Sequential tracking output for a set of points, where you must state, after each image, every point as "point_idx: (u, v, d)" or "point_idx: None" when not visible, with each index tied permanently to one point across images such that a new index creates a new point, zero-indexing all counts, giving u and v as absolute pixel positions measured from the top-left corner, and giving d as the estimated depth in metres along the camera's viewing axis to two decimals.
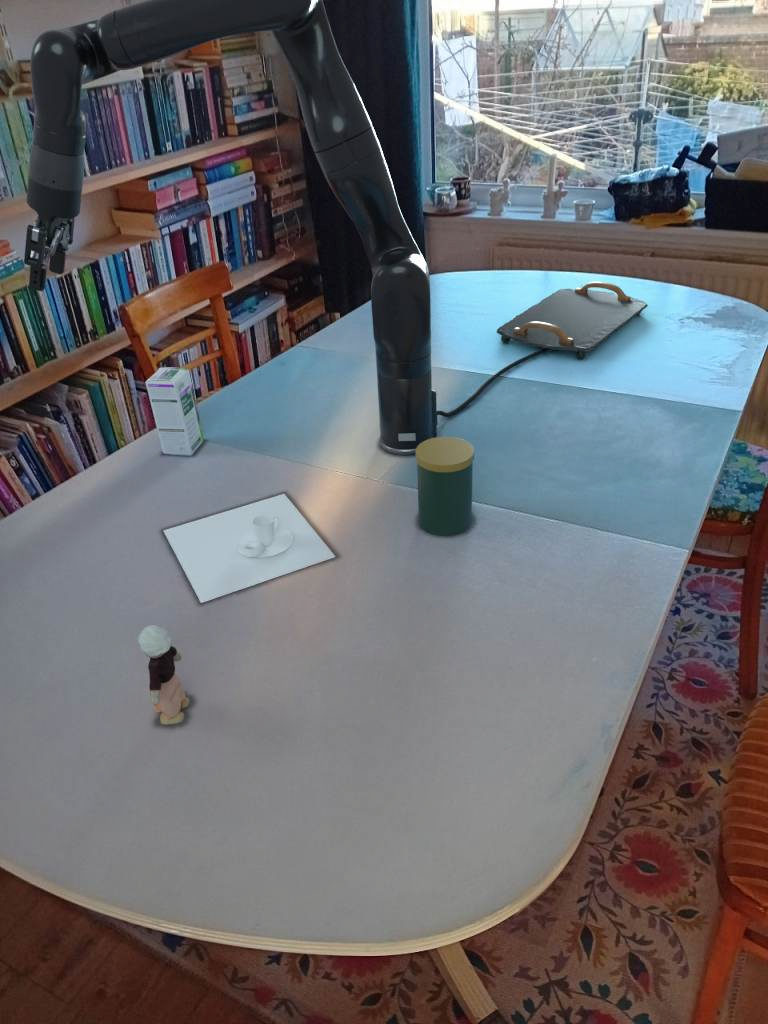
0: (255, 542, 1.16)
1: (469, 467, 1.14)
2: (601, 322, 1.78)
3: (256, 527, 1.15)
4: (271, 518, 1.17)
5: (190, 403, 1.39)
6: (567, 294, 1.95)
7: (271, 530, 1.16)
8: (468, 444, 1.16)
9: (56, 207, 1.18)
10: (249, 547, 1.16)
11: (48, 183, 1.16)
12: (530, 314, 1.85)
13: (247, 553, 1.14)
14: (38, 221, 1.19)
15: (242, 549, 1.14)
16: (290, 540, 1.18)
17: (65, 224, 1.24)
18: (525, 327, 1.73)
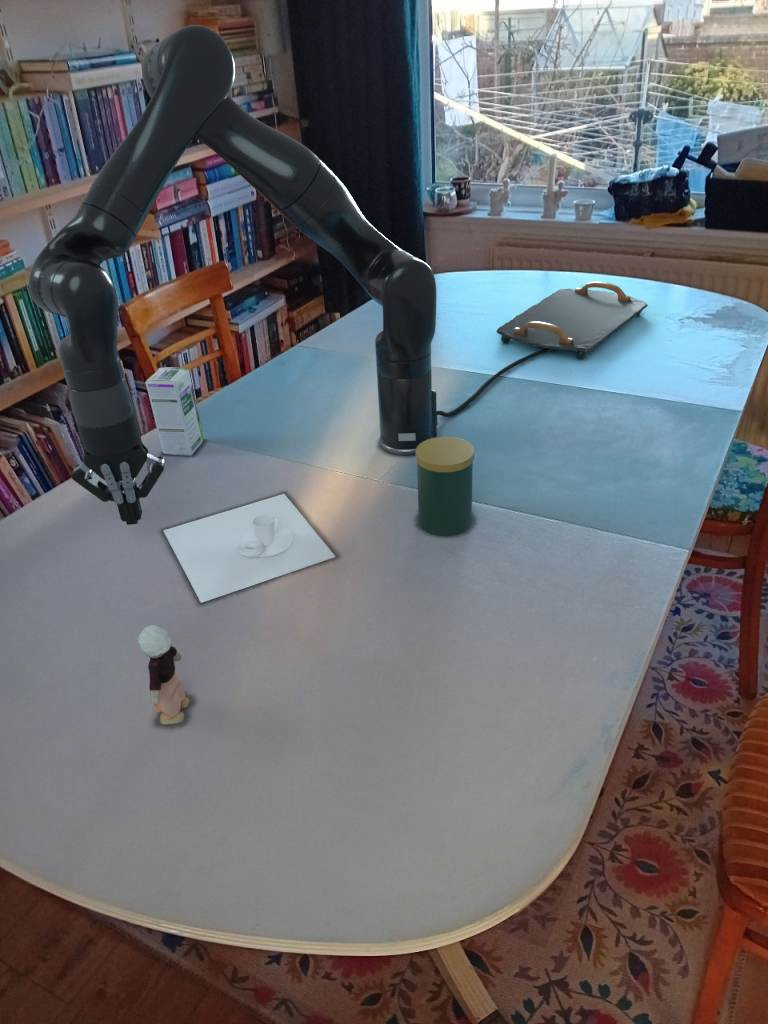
0: (255, 542, 1.16)
1: (469, 467, 1.14)
2: (601, 321, 1.78)
3: (256, 527, 1.15)
4: (271, 518, 1.17)
5: (189, 403, 1.39)
6: (567, 294, 1.95)
7: (271, 530, 1.16)
8: (468, 444, 1.16)
9: None
10: (249, 547, 1.16)
11: (133, 407, 1.05)
12: (530, 314, 1.85)
13: (247, 553, 1.14)
14: (142, 450, 1.07)
15: (242, 549, 1.14)
16: (290, 540, 1.18)
17: None
18: (525, 327, 1.73)
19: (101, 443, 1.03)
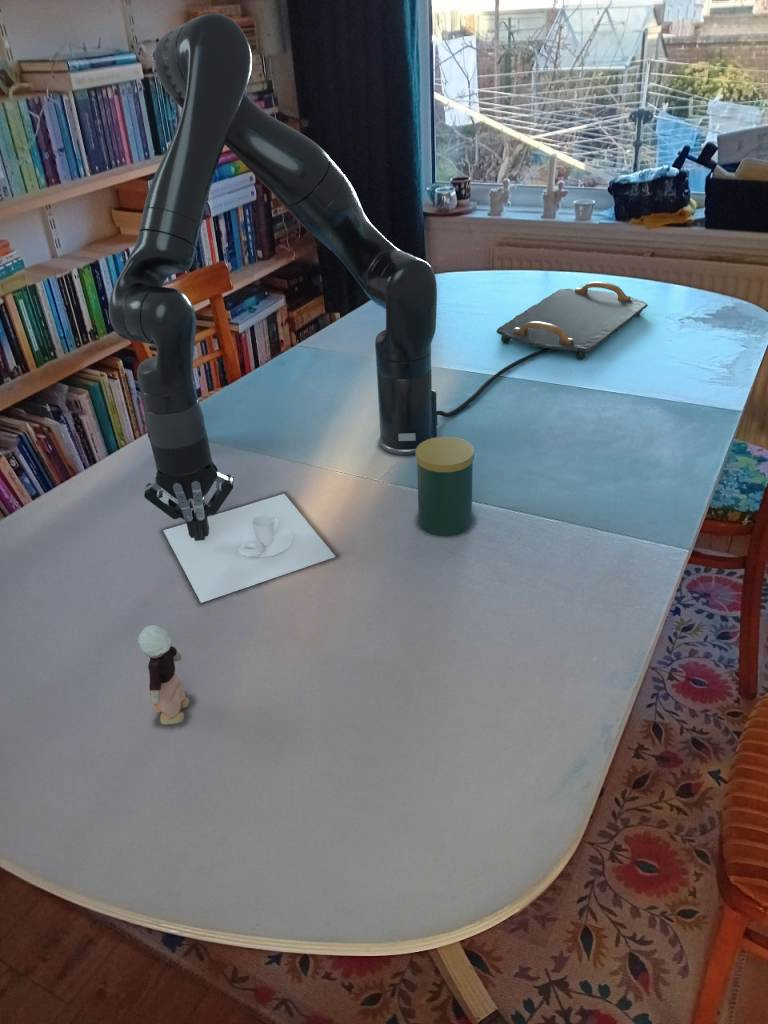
0: (255, 542, 1.16)
1: (469, 467, 1.14)
2: (601, 321, 1.78)
3: (256, 527, 1.15)
4: (271, 518, 1.17)
5: None
6: (567, 294, 1.95)
7: (271, 530, 1.16)
8: (468, 444, 1.16)
9: None
10: (249, 547, 1.16)
11: (205, 428, 1.08)
12: (530, 314, 1.85)
13: (247, 553, 1.14)
14: (213, 469, 1.10)
15: (242, 549, 1.14)
16: (290, 540, 1.18)
17: None
18: (525, 327, 1.73)
19: (176, 463, 1.06)
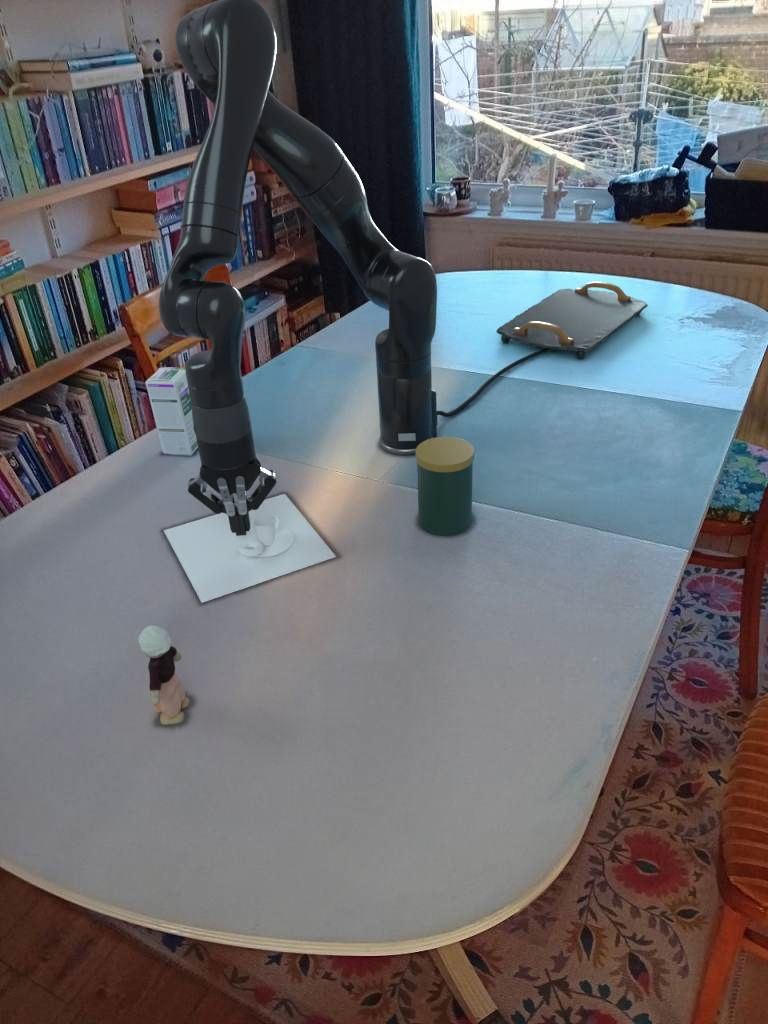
0: (256, 542, 1.16)
1: (469, 467, 1.14)
2: (601, 321, 1.78)
3: (257, 527, 1.15)
4: (272, 518, 1.17)
5: (189, 403, 1.39)
6: (567, 294, 1.95)
7: (272, 530, 1.16)
8: (468, 444, 1.16)
9: None
10: (250, 547, 1.16)
11: None
12: (530, 314, 1.85)
13: (248, 553, 1.14)
14: (257, 464, 1.11)
15: (243, 549, 1.14)
16: (291, 540, 1.18)
17: None
18: (525, 327, 1.73)
19: (222, 458, 1.06)
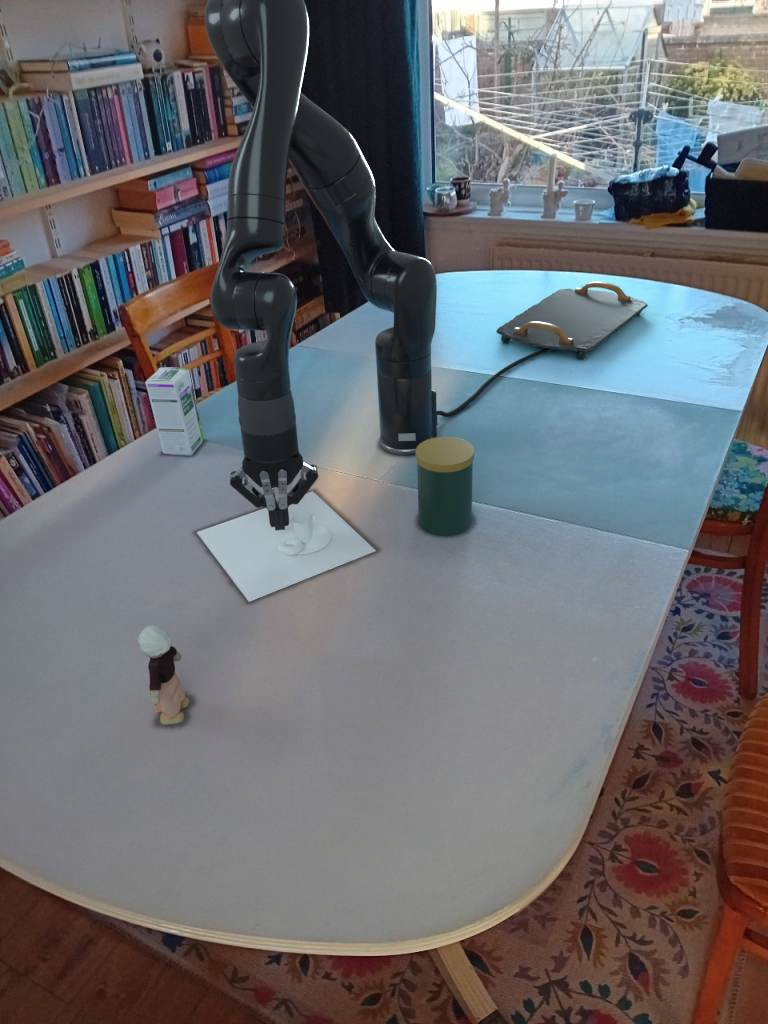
0: (294, 539, 1.16)
1: (469, 467, 1.14)
2: (601, 321, 1.78)
3: (296, 524, 1.15)
4: (309, 515, 1.17)
5: (189, 403, 1.39)
6: (567, 294, 1.95)
7: (310, 527, 1.16)
8: (468, 444, 1.16)
9: None
10: (288, 545, 1.16)
11: None
12: (530, 314, 1.85)
13: (288, 550, 1.14)
14: (300, 458, 1.11)
15: (283, 547, 1.14)
16: (328, 536, 1.18)
17: None
18: (525, 327, 1.73)
19: (267, 450, 1.06)
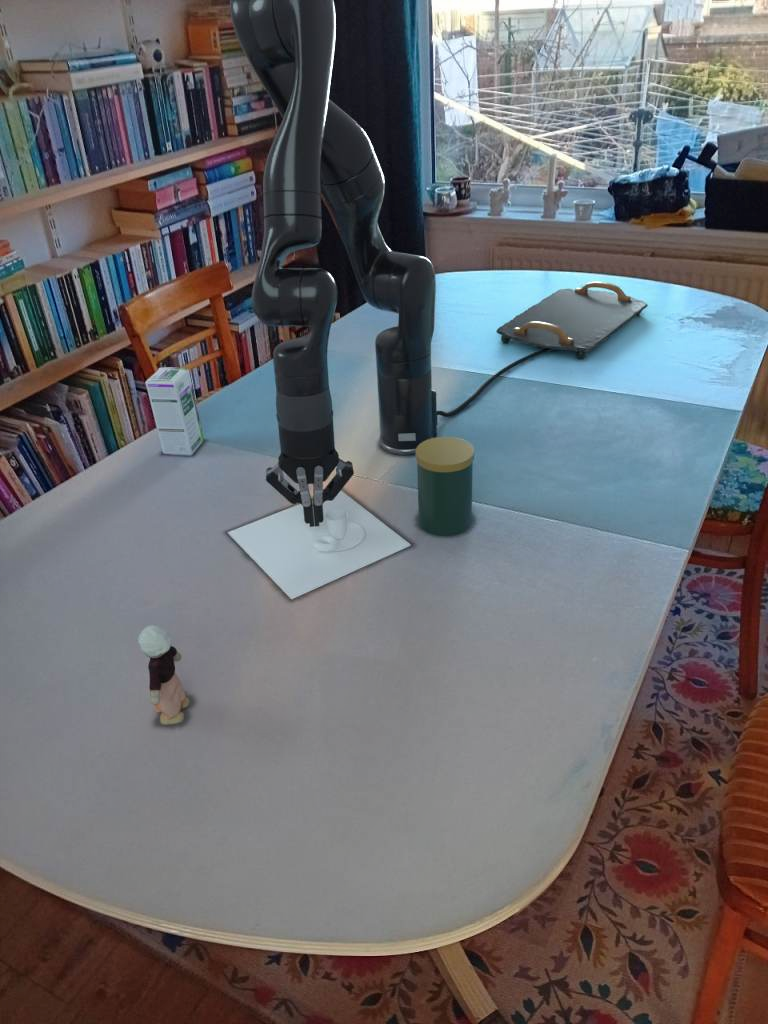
0: (329, 536, 1.16)
1: (469, 467, 1.14)
2: (601, 321, 1.78)
3: (331, 521, 1.15)
4: (342, 512, 1.17)
5: (189, 403, 1.39)
6: (567, 294, 1.95)
7: (344, 523, 1.17)
8: (468, 444, 1.16)
9: None
10: (324, 542, 1.16)
11: None
12: (530, 314, 1.85)
13: (325, 547, 1.14)
14: (336, 454, 1.11)
15: (319, 544, 1.14)
16: (362, 532, 1.19)
17: None
18: (525, 327, 1.73)
19: (304, 446, 1.07)
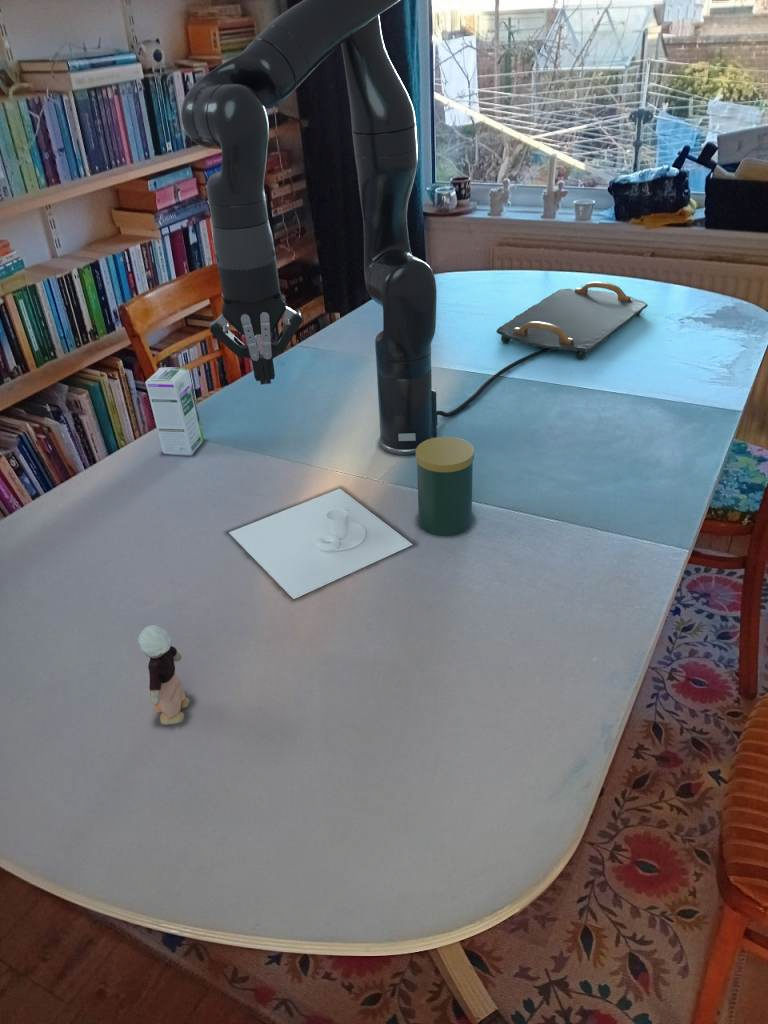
0: (331, 536, 1.16)
1: (469, 467, 1.14)
2: (601, 321, 1.78)
3: (332, 520, 1.15)
4: (344, 511, 1.18)
5: (189, 403, 1.39)
6: (567, 294, 1.95)
7: (346, 523, 1.17)
8: (468, 444, 1.16)
9: None
10: (325, 541, 1.16)
11: None
12: (530, 314, 1.85)
13: (327, 547, 1.14)
14: (282, 300, 1.06)
15: (321, 544, 1.14)
16: (363, 532, 1.19)
17: None
18: (525, 327, 1.73)
19: (246, 287, 1.01)
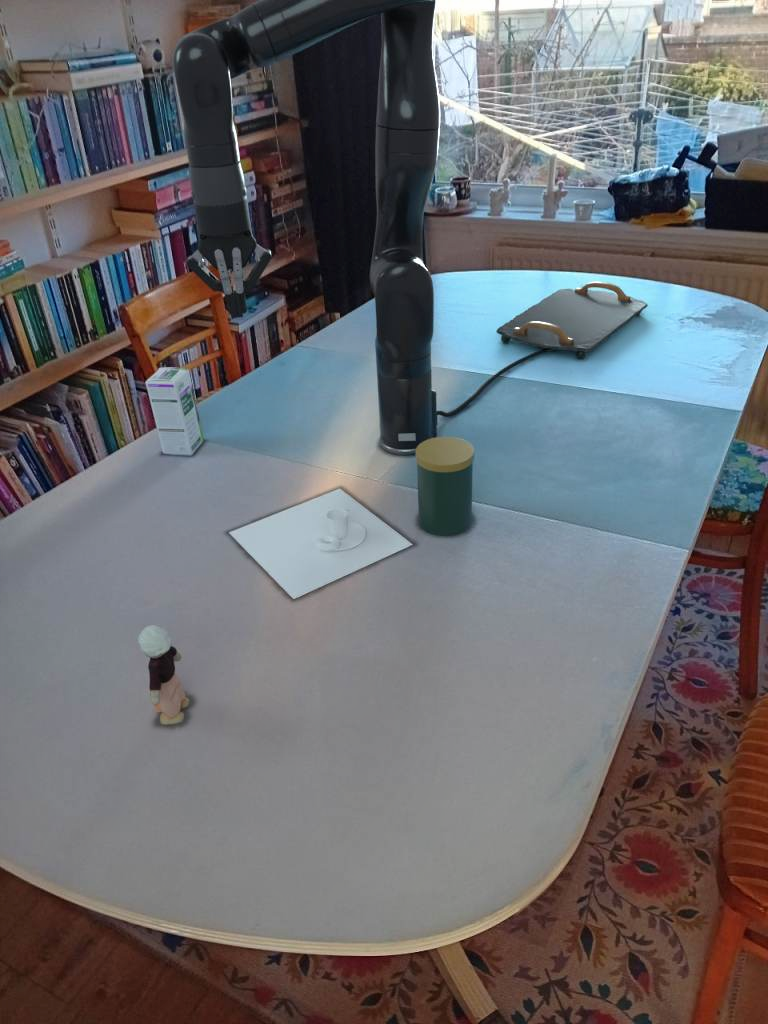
0: (331, 536, 1.16)
1: (469, 467, 1.14)
2: (601, 321, 1.78)
3: (332, 520, 1.15)
4: (344, 511, 1.18)
5: (189, 403, 1.39)
6: (567, 294, 1.95)
7: (346, 523, 1.17)
8: (468, 444, 1.16)
9: None
10: (325, 541, 1.16)
11: None
12: (530, 314, 1.85)
13: (327, 547, 1.14)
14: (253, 238, 1.16)
15: (321, 544, 1.14)
16: (363, 532, 1.19)
17: None
18: (525, 327, 1.73)
19: (219, 222, 1.11)
